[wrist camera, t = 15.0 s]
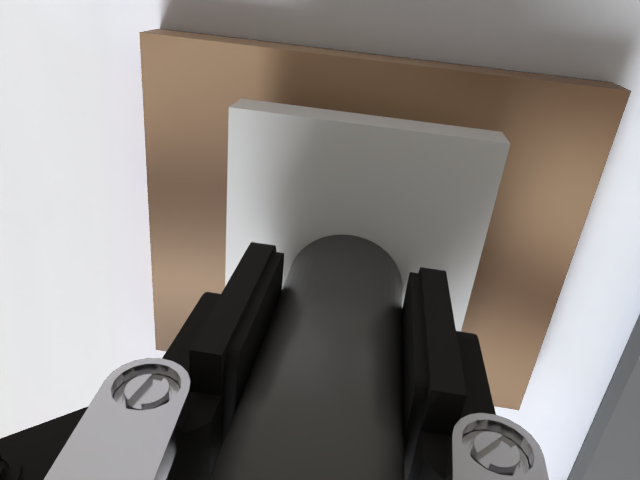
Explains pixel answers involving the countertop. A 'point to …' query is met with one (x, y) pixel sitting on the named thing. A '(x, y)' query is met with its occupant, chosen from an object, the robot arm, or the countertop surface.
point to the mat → (615, 424)
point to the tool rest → (387, 101)
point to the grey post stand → (345, 275)
